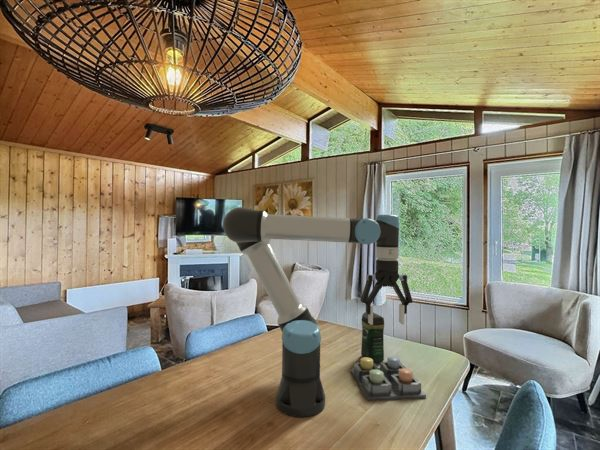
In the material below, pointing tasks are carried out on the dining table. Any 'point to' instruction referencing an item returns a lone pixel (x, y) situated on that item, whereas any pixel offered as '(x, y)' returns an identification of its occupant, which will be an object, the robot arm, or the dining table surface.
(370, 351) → the coffee jar
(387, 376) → the button panel
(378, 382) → the sage button
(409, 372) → the terracotta button
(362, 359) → the mustard button
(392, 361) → the slate button
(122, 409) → the dining table surface
